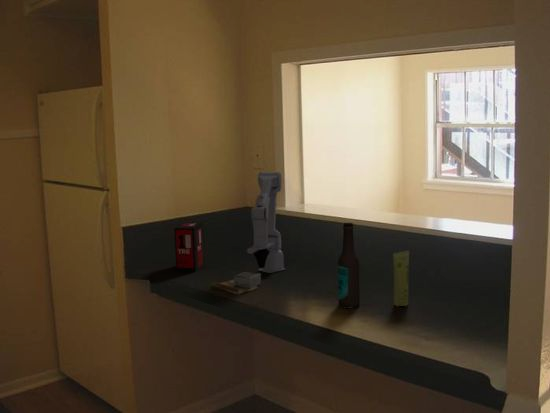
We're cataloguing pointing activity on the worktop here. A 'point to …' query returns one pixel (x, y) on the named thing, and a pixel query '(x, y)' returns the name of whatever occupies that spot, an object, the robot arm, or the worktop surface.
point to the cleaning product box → (189, 246)
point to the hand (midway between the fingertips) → (261, 267)
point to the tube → (401, 278)
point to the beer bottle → (348, 271)
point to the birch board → (232, 287)
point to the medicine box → (247, 280)
